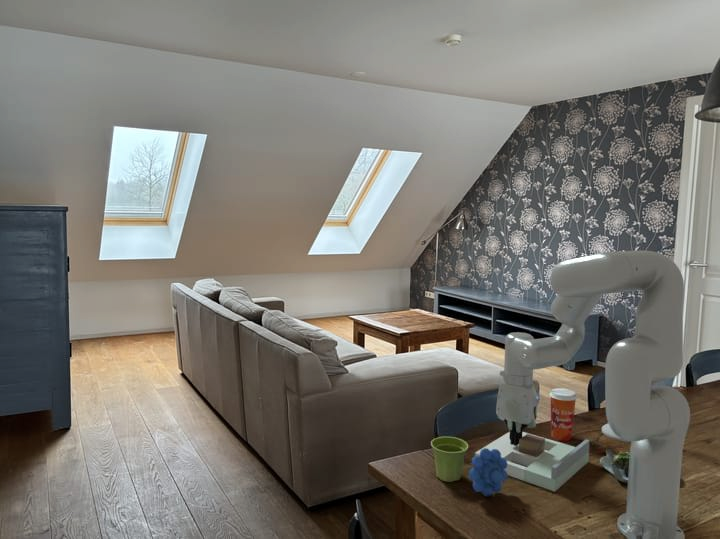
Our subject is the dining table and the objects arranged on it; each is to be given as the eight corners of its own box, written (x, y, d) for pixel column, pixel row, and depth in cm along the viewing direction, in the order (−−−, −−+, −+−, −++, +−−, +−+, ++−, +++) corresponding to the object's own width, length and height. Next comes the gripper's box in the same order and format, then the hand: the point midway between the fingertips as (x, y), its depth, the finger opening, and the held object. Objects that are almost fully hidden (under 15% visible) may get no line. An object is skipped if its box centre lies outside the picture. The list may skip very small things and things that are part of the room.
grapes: (481, 510, 126) (483, 460, 125) (462, 497, 132) (463, 448, 131) (519, 497, 132) (521, 449, 131) (498, 485, 138) (500, 438, 137)
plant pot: (468, 470, 146) (469, 438, 145) (465, 488, 137) (466, 454, 136) (433, 466, 148) (433, 434, 147) (427, 482, 139) (428, 449, 138)
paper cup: (548, 441, 165) (550, 394, 163) (546, 431, 172) (548, 386, 170) (577, 443, 163) (579, 397, 161) (573, 433, 170) (575, 388, 169)
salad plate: (580, 457, 154) (581, 441, 154) (638, 453, 158) (639, 437, 157) (625, 492, 135) (627, 474, 135) (690, 486, 139) (691, 469, 138)
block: (536, 457, 147) (537, 444, 146) (518, 451, 150) (519, 439, 150) (544, 451, 151) (545, 438, 150) (527, 445, 154) (527, 433, 154)
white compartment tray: (554, 491, 135) (555, 467, 134) (474, 463, 150) (475, 441, 149) (588, 461, 151) (589, 440, 151) (513, 438, 166) (514, 419, 165)
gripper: (486, 376, 153) (484, 440, 156) (538, 388, 144) (535, 456, 146) (499, 370, 159) (497, 432, 161) (550, 381, 149) (547, 447, 151)
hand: (515, 443), depth 153 cm, fingers closed
